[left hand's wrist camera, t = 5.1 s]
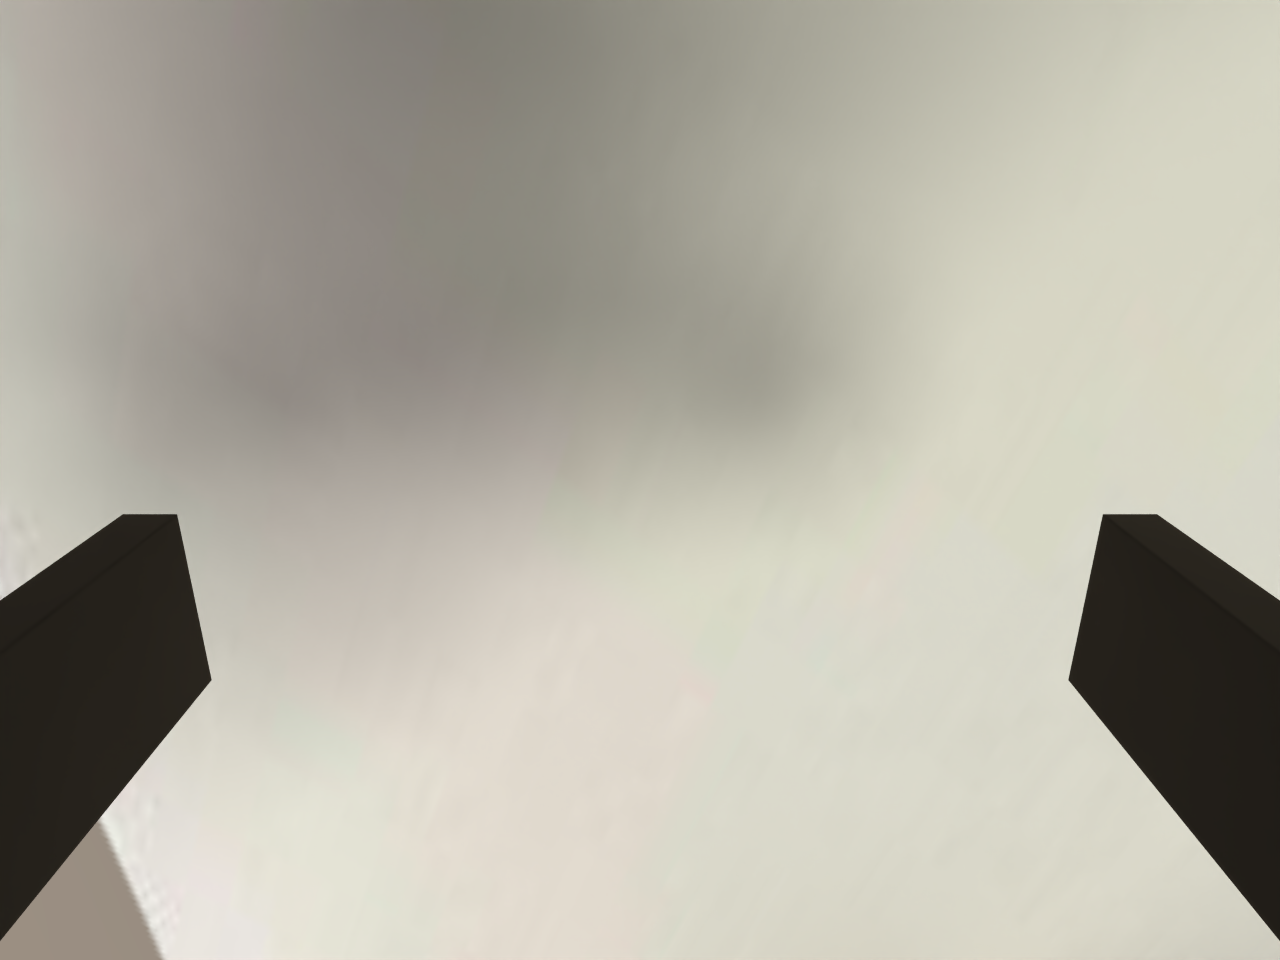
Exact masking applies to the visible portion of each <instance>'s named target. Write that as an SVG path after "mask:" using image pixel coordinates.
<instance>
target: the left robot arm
mask: <svg viewBox="0 0 1280 960" xmlns="http://www.w3.org/2000/svg"><path fill="white" fill-rule="evenodd" d="M210 681H211V675H210V670H209V665H208V661H207V656H206V651H205V646H204V642H203V637H202V632H201V627H200V622H199V618H198V613H197V608H196V603H195V598H194V594H193V589H192V584H191V579H190V574H189V570H188V565H187V560H186V555H185V550H184V546H183V541H182V536H181V531H180V526H179V522H178V517H177V514H123V515H121V516H120V517H119V518H117V519H116V520H114V521H113V522H111V523H110V524H109V525H107V526H106V527H104V528H103V529H101V530H100V531H99V532H97V533H96V534H94V535H93V536H91V537H90V538H89V539H87V540H86V541H84V542H83V543H82V544H80V545H79V546H77V547H76V548H74V549H73V550H72V551H70V552H69V553H67V554H66V555H64V556H63V557H62V558H60V559H59V560H57V561H56V562H54V563H53V564H52V565H50V566H49V567H47V568H46V569H45V570H43V571H42V572H40V573H39V574H37V575H36V576H35V577H33V578H32V579H30V580H29V581H27V582H26V583H25V584H23V585H22V586H20V587H19V588H17V589H16V590H15V591H13V592H12V593H10V594H9V595H8V596H6V597H5V598H3V599H2V600H0V940H1V939H2V938H3V937H4V936H5V934H6V933H7V932H8V931H9V929H10V928H11V927H12V926H13V924H14V923H15V922H16V921H17V919H18V918H19V917H20V916H21V915H22V913H23V912H24V911H25V910H26V908H27V907H28V906H29V905H30V903H31V902H32V901H33V900H34V898H35V897H36V896H37V895H38V894H39V892H40V891H41V890H42V888H43V887H44V886H45V885H46V884H47V882H48V881H49V880H50V879H51V877H52V876H53V875H54V874H55V872H56V871H57V870H58V869H59V868H60V866H61V865H62V864H63V863H64V861H65V860H66V859H67V858H68V856H69V855H70V854H71V853H72V852H73V850H74V849H75V848H76V847H77V845H78V844H79V843H80V842H81V840H82V839H83V838H84V837H85V836H86V834H87V833H88V832H89V831H90V829H91V828H92V827H93V826H94V824H95V823H96V822H97V821H98V819H99V818H100V817H101V816H102V815H103V813H104V812H105V811H106V810H107V808H108V807H109V806H110V805H111V803H112V802H113V801H114V800H115V799H116V797H117V796H118V795H119V794H120V792H121V791H122V790H123V789H124V787H125V786H126V785H127V784H128V782H129V781H130V780H131V779H132V778H133V776H134V775H135V774H136V773H137V771H138V770H139V769H140V768H141V766H142V765H143V764H144V763H145V761H146V760H147V759H148V758H149V757H150V755H151V754H152V753H153V752H154V750H155V749H156V748H157V747H158V745H159V744H160V743H161V742H162V741H163V739H164V738H165V737H166V736H167V734H168V733H169V732H170V731H171V729H172V728H173V727H174V726H175V724H176V723H177V722H178V721H179V720H180V718H181V717H182V716H183V715H184V713H185V712H186V711H187V710H188V708H189V707H190V706H191V705H192V703H193V702H194V701H195V700H196V699H197V697H198V696H199V695H200V694H201V692H202V691H203V690H204V689H205V687H206V686H207V685H208V684H209V682H210ZM1069 681H1070V682H1071V684H1072V685H1073V686H1074V687H1075V689H1076V690H1077V691H1078V692H1079V694H1080V695H1081V696H1082V697H1083V699H1084V700H1085V701H1086V702H1087V703H1088V705H1089V706H1090V707H1091V708H1092V710H1093V711H1094V712H1095V713H1096V715H1097V716H1098V717H1099V718H1100V720H1101V721H1102V722H1103V723H1104V724H1105V726H1106V727H1107V728H1108V729H1109V731H1110V732H1111V733H1112V734H1113V736H1114V737H1115V738H1116V739H1117V741H1118V742H1119V743H1120V744H1121V745H1122V747H1123V748H1124V749H1125V750H1126V752H1127V753H1128V754H1129V755H1130V757H1131V758H1132V759H1133V760H1134V761H1135V763H1136V764H1137V765H1138V766H1139V768H1140V769H1141V770H1142V771H1143V773H1144V774H1145V775H1146V776H1147V778H1148V779H1149V780H1150V781H1151V782H1152V784H1153V785H1154V786H1155V787H1156V789H1157V790H1158V791H1159V792H1160V794H1161V795H1162V796H1163V797H1164V799H1165V800H1166V801H1167V802H1168V803H1169V805H1170V806H1171V807H1172V808H1173V810H1174V811H1175V812H1176V813H1177V815H1178V816H1179V817H1180V818H1181V819H1182V821H1183V822H1184V823H1185V824H1186V826H1187V827H1188V828H1189V829H1190V831H1191V832H1192V833H1193V834H1194V836H1195V837H1196V838H1197V839H1198V840H1199V842H1200V843H1201V844H1202V845H1203V847H1204V848H1205V849H1206V850H1207V852H1208V853H1209V854H1210V855H1211V857H1212V858H1213V859H1214V860H1215V861H1216V863H1217V864H1218V865H1219V866H1220V868H1221V869H1222V870H1223V871H1224V873H1225V874H1226V875H1227V876H1228V877H1229V879H1230V880H1231V881H1232V882H1233V884H1234V885H1235V886H1236V887H1237V889H1238V890H1239V891H1240V892H1241V894H1242V895H1243V896H1244V897H1245V898H1246V900H1247V901H1248V902H1249V903H1250V905H1251V906H1252V907H1253V908H1254V910H1255V911H1256V912H1257V913H1258V915H1259V916H1260V917H1261V918H1262V919H1263V921H1264V922H1265V923H1266V924H1267V926H1268V927H1269V928H1270V929H1271V931H1272V932H1273V933H1274V934H1275V936H1276V937H1277V938H1278V939H1279V940H1280V600H1278V599H1277V598H1275V597H1274V596H1272V595H1271V594H1270V593H1268V592H1267V591H1265V590H1264V589H1263V588H1261V587H1260V586H1258V585H1257V584H1255V583H1254V582H1253V581H1251V580H1250V579H1248V578H1247V577H1245V576H1244V575H1243V574H1241V573H1240V572H1238V571H1237V570H1235V569H1234V568H1233V567H1231V566H1230V565H1228V564H1227V563H1226V562H1224V561H1223V560H1221V559H1220V558H1218V557H1217V556H1216V555H1214V554H1213V553H1211V552H1210V551H1208V550H1207V549H1206V548H1204V547H1203V546H1201V545H1200V544H1198V543H1197V542H1196V541H1194V540H1193V539H1191V538H1190V537H1189V536H1187V535H1186V534H1184V533H1183V532H1181V531H1180V530H1179V529H1177V528H1176V527H1174V526H1173V525H1171V524H1170V523H1169V522H1167V521H1166V520H1164V519H1163V518H1161V517H1160V516H1159V515H1157V514H1103V517H1102V522H1101V526H1100V531H1099V536H1098V541H1097V546H1096V550H1095V555H1094V560H1093V565H1092V570H1091V574H1090V579H1089V584H1088V589H1087V594H1086V598H1085V603H1084V608H1083V613H1082V618H1081V622H1080V627H1079V632H1078V637H1077V642H1076V646H1075V651H1074V656H1073V661H1072V665H1071V670H1070V675H1069Z"/></svg>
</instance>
